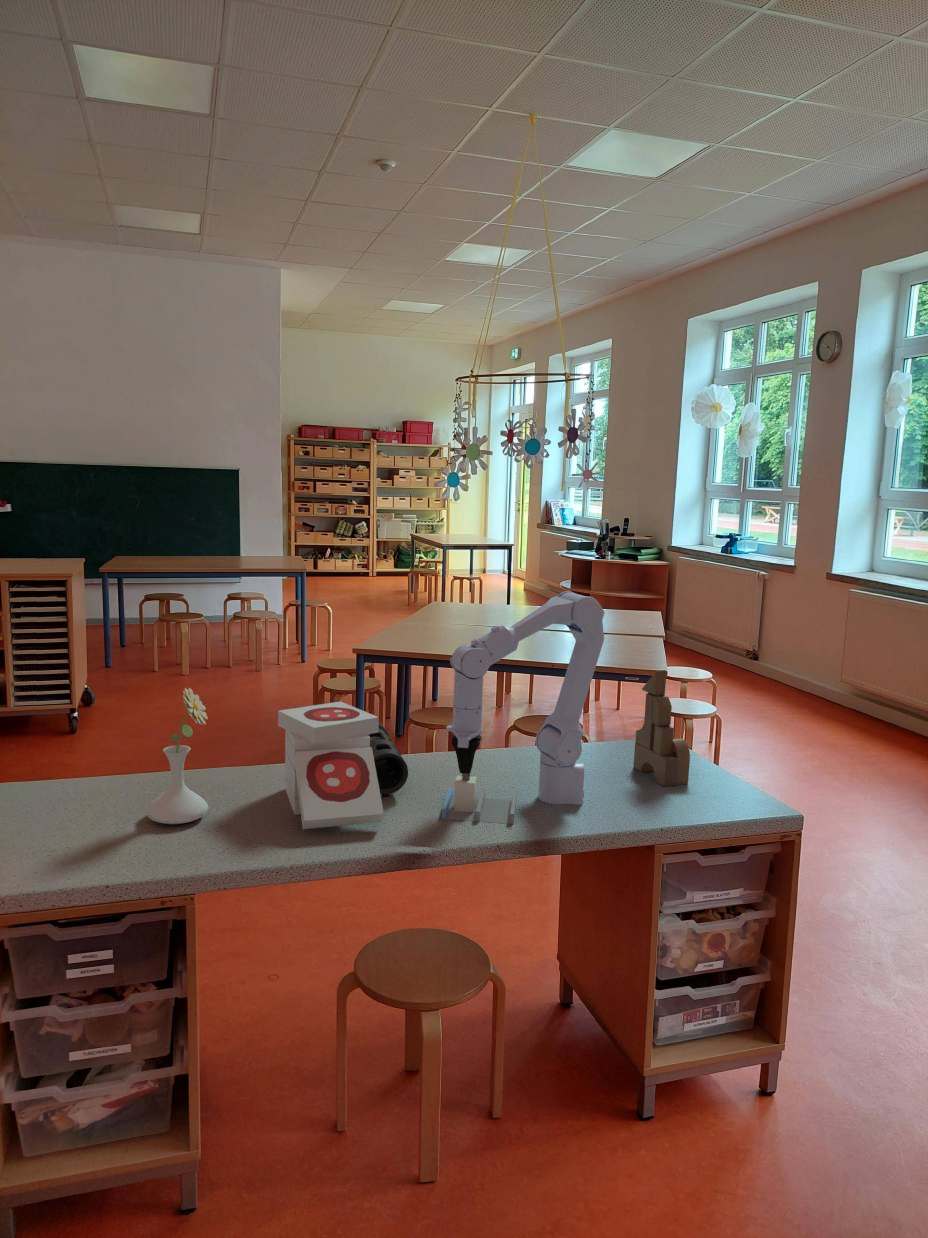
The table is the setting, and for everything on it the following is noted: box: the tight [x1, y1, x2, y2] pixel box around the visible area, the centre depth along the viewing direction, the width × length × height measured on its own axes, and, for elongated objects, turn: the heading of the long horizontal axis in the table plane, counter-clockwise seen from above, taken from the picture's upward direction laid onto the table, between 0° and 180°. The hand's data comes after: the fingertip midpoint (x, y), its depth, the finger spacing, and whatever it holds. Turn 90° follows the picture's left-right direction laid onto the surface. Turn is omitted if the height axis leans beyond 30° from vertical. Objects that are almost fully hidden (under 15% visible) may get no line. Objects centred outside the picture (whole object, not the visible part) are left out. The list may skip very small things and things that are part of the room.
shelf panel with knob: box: [441, 785, 518, 825], centre depth 177 cm, size 14×13×3 cm
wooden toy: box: [633, 669, 691, 787], centre depth 204 cm, size 16×7×25 cm, turn 19°
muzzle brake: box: [368, 722, 409, 799], centre depth 196 cm, size 10×28×10 cm, turn 16°
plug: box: [453, 773, 478, 812], centre depth 177 cm, size 4×4×8 cm
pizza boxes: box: [277, 701, 385, 830], centre depth 177 cm, size 19×30×18 cm, turn 18°
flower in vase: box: [145, 687, 209, 825], centre depth 169 cm, size 13×11×25 cm
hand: (465, 772), depth 177 cm, fingers closed, pressing on plug
